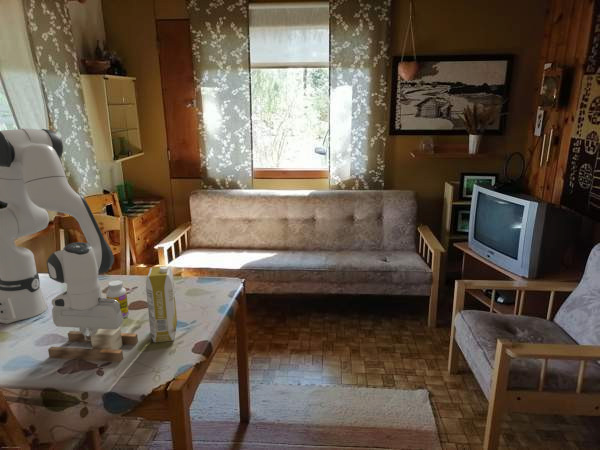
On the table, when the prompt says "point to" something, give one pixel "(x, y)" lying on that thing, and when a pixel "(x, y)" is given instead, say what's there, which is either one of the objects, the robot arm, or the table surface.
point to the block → (107, 339)
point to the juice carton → (161, 304)
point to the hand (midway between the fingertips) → (91, 339)
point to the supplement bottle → (118, 296)
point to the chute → (91, 353)
